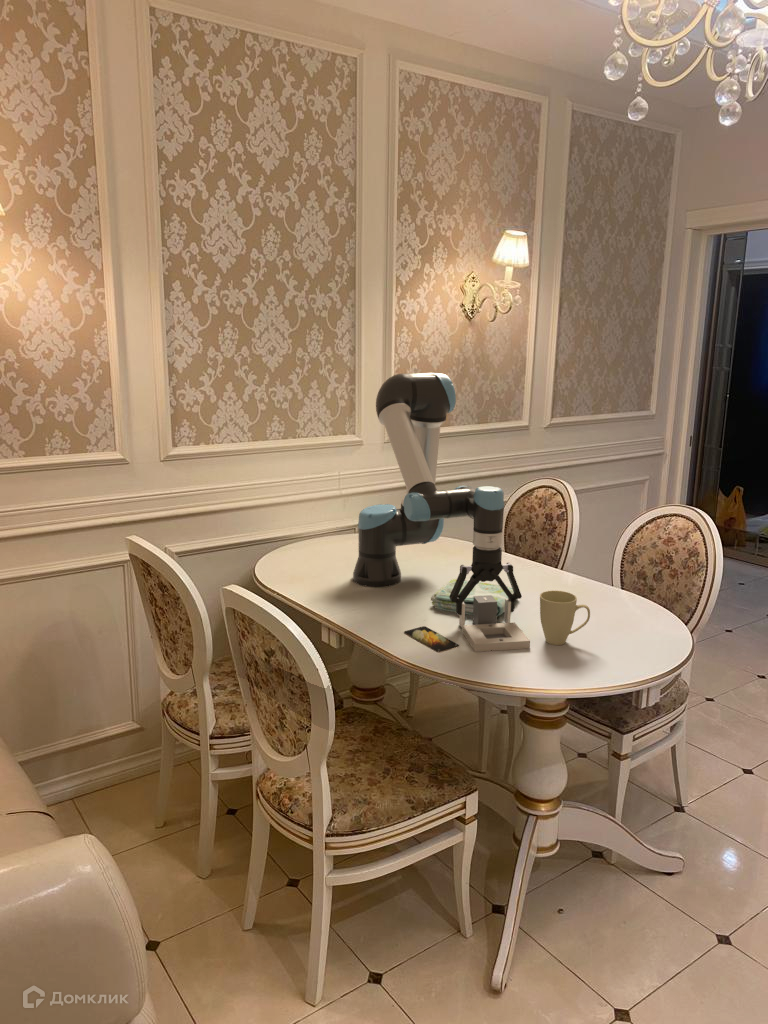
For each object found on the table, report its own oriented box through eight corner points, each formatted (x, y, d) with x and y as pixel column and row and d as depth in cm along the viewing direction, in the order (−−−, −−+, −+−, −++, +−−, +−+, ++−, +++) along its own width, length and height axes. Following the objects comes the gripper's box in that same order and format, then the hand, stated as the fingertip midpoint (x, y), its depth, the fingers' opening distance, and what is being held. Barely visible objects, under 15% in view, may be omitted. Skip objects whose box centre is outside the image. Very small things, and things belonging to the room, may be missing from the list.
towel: (452, 589, 227) (452, 574, 226) (520, 601, 218) (520, 584, 217) (428, 609, 211) (429, 592, 210) (500, 622, 202) (501, 604, 201)
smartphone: (438, 652, 182) (402, 631, 194) (438, 654, 182) (402, 633, 194) (461, 645, 185) (424, 625, 198) (460, 648, 186) (424, 628, 198)
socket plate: (462, 632, 194) (462, 624, 193) (514, 629, 196) (514, 621, 195) (475, 651, 182) (475, 643, 182) (529, 648, 184) (530, 640, 184)
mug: (553, 652, 182) (556, 606, 179) (530, 637, 191) (532, 593, 188) (589, 645, 186) (593, 600, 183) (565, 630, 195) (568, 587, 192)
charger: (472, 622, 201) (473, 595, 199) (490, 621, 201) (491, 594, 200) (477, 629, 196) (478, 602, 194) (496, 628, 197) (497, 601, 195)
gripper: (445, 552, 188) (443, 632, 193) (536, 548, 192) (532, 627, 197) (439, 544, 195) (437, 621, 200) (526, 540, 199) (523, 616, 204)
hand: (484, 624), depth 198 cm, fingers open, 12 cm apart
